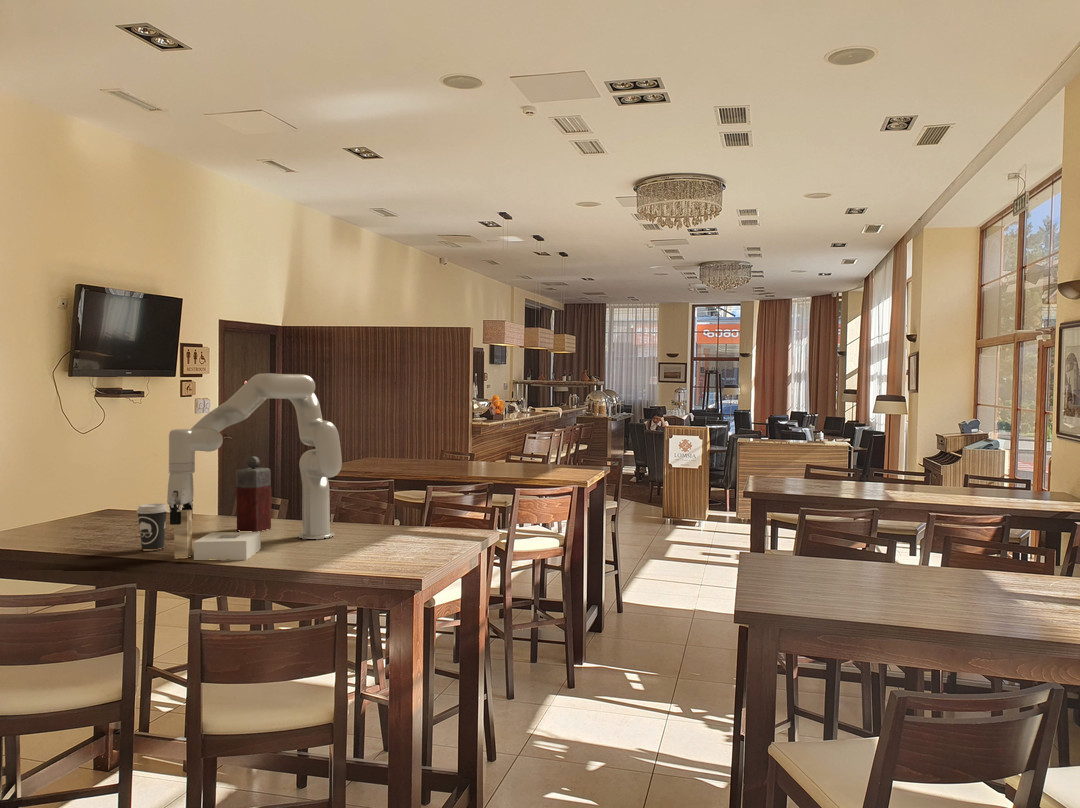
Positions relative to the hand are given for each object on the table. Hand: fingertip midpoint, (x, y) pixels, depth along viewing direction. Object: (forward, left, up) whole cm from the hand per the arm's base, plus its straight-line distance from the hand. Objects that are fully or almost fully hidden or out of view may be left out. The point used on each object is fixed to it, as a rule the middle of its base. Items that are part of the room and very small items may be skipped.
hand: (181, 522), depth 250 cm
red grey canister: (-49, +9, -12) cm, 52 cm away
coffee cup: (-14, -15, -12) cm, 24 cm away
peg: (0, 0, -12) cm, 12 cm away
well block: (-3, +13, -12) cm, 18 cm away
